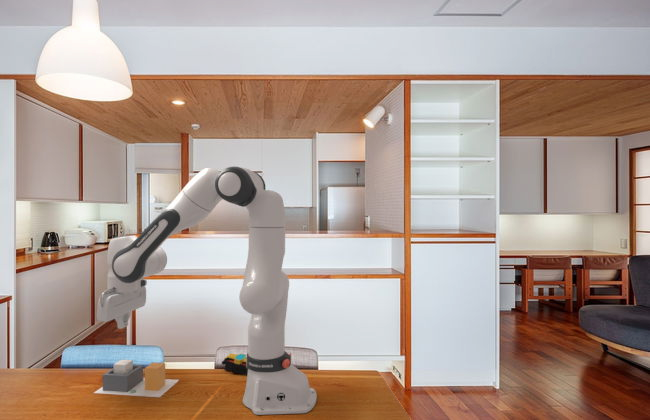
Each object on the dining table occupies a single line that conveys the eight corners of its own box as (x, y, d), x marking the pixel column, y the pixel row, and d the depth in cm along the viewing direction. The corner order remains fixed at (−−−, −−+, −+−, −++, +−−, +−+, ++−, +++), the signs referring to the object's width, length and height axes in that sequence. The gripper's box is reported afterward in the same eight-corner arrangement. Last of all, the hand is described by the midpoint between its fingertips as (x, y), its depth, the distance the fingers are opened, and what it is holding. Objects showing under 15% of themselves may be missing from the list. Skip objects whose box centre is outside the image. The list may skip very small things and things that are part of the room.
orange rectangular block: (165, 384, 128) (165, 363, 128) (157, 390, 124) (157, 368, 123) (152, 383, 128) (152, 362, 128) (144, 390, 124) (144, 367, 124)
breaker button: (132, 370, 129) (132, 360, 129) (125, 375, 125) (125, 365, 125) (121, 370, 130) (121, 359, 130) (113, 375, 126) (113, 364, 126)
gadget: (254, 380, 136) (257, 365, 135) (220, 371, 138) (222, 356, 138) (261, 373, 142) (263, 358, 142) (228, 364, 145) (230, 349, 144)
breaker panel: (179, 382, 131) (179, 365, 131) (159, 400, 119) (159, 380, 119) (118, 379, 134) (118, 361, 134) (93, 396, 122) (93, 376, 122)
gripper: (110, 292, 116) (110, 338, 116) (149, 279, 137) (149, 319, 137) (90, 291, 117) (90, 337, 117) (132, 278, 137) (132, 318, 138)
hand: (122, 327), depth 127 cm, fingers closed
